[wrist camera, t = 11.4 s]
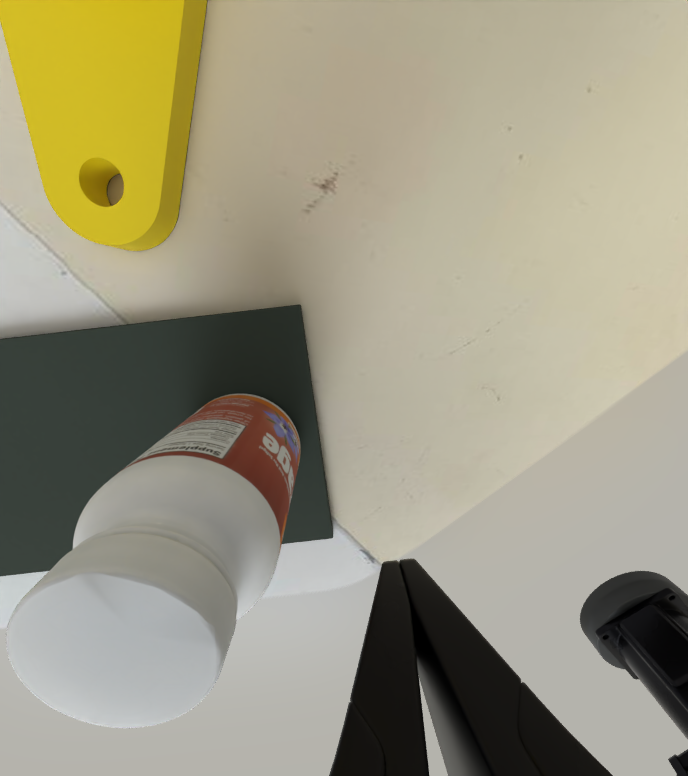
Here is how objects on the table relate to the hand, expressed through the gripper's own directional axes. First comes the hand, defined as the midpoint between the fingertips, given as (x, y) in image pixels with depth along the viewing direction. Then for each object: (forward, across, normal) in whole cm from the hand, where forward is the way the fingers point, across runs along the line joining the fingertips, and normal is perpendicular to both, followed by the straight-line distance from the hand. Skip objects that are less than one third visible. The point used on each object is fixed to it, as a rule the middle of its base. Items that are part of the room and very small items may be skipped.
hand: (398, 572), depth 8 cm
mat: (+10, +16, 0) cm, 19 cm away
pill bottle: (+10, +7, 0) cm, 12 cm away
